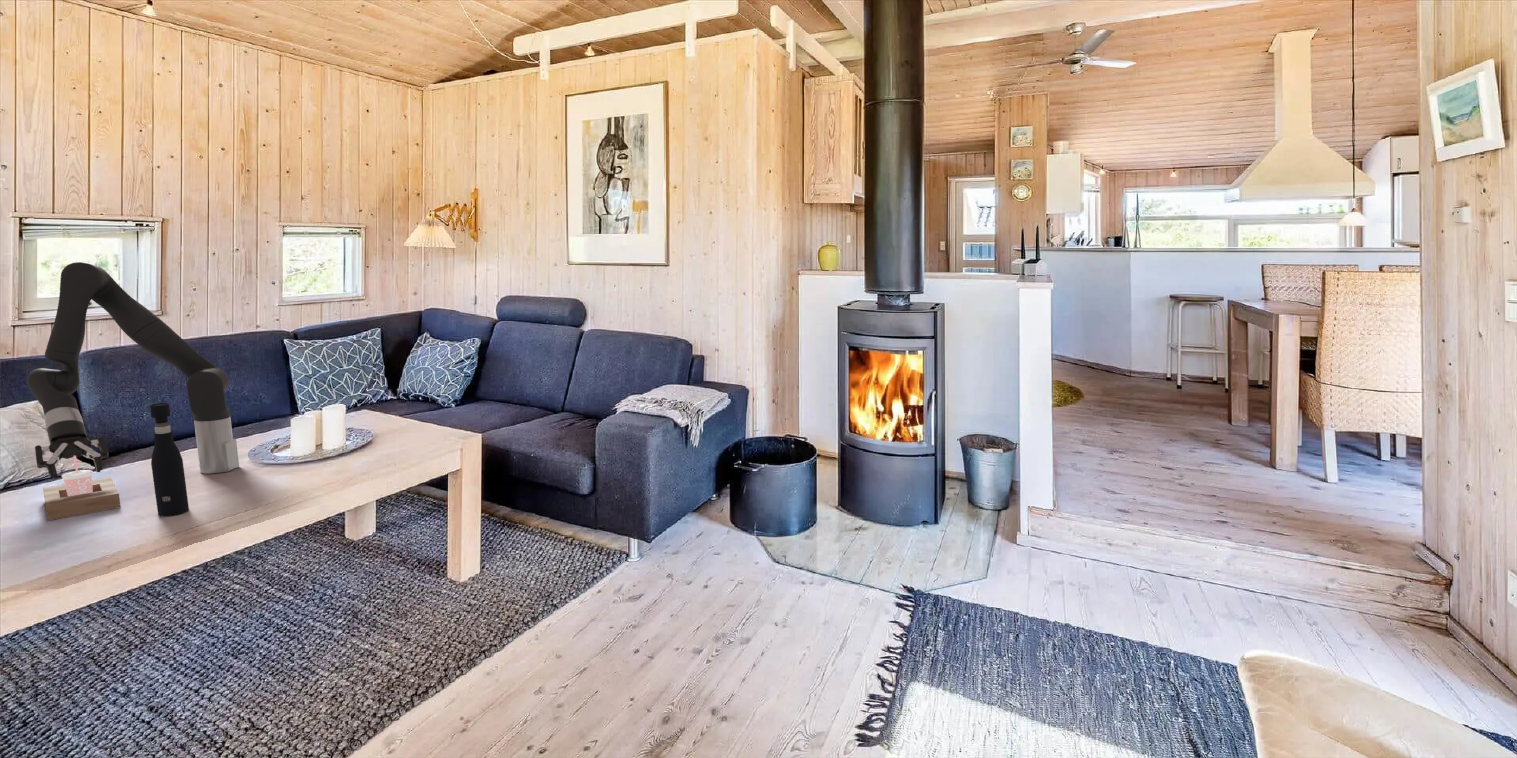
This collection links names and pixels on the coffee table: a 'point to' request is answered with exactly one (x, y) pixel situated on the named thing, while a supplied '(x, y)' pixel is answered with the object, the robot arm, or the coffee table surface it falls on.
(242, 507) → the coffee table surface
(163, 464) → the black water bottle
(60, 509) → the wooden cup holder
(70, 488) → the beverage cup
